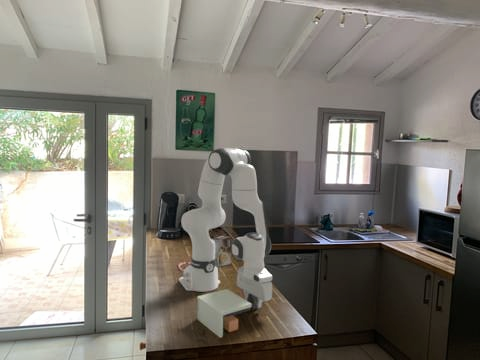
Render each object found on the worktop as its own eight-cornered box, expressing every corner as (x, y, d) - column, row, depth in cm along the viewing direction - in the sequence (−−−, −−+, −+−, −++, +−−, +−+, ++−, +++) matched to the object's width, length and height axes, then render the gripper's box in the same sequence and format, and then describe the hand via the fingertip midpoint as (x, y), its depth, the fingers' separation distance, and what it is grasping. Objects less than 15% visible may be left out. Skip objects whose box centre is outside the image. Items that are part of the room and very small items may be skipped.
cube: (223, 327, 136) (223, 317, 135) (232, 325, 138) (232, 315, 138) (229, 332, 133) (229, 321, 132) (238, 329, 135) (238, 319, 134)
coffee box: (224, 261, 216) (225, 235, 214) (231, 264, 211) (231, 237, 209) (212, 264, 210) (212, 237, 209) (218, 267, 205) (218, 239, 204)
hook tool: (217, 317, 144) (217, 302, 144) (253, 306, 155) (253, 292, 154) (227, 324, 138) (228, 309, 138) (264, 312, 149) (264, 298, 148)
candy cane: (177, 270, 195) (178, 262, 210) (177, 273, 195) (178, 264, 210) (191, 270, 196) (191, 261, 211) (191, 272, 196) (191, 264, 211)
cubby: (196, 318, 142) (197, 296, 141) (226, 310, 150) (226, 289, 149) (220, 337, 128) (220, 312, 128) (251, 327, 137) (251, 303, 136)
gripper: (233, 266, 158) (233, 296, 159) (263, 280, 141) (262, 314, 143) (245, 263, 162) (244, 293, 163) (275, 277, 145) (274, 310, 146)
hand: (252, 303), depth 153 cm, fingers open, 6 cm apart
